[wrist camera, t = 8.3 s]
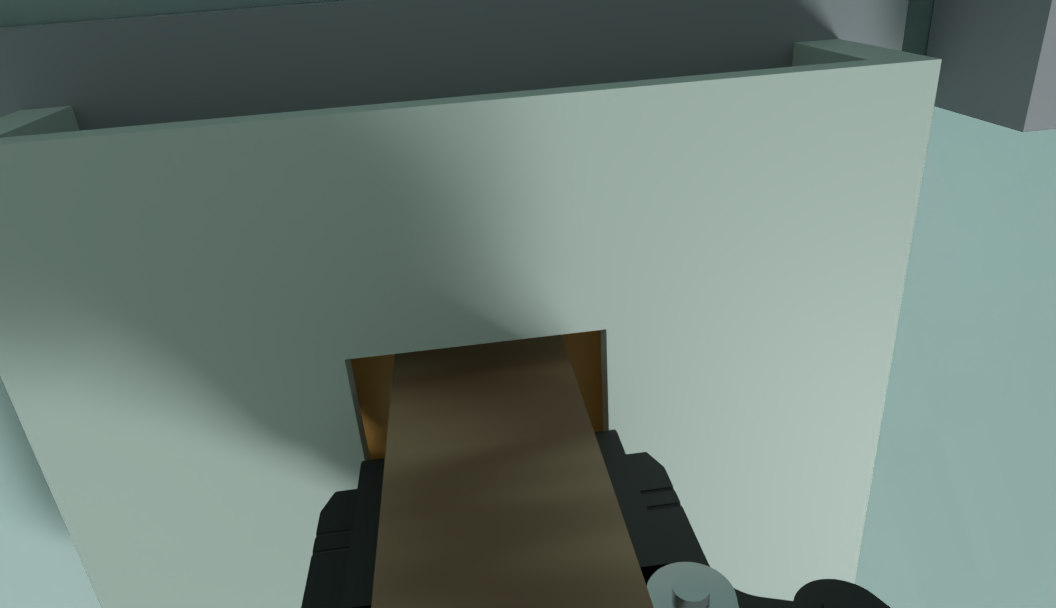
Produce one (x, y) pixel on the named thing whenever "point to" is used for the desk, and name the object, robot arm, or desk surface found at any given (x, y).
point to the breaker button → (378, 373)
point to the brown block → (498, 487)
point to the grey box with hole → (451, 258)
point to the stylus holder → (997, 60)
